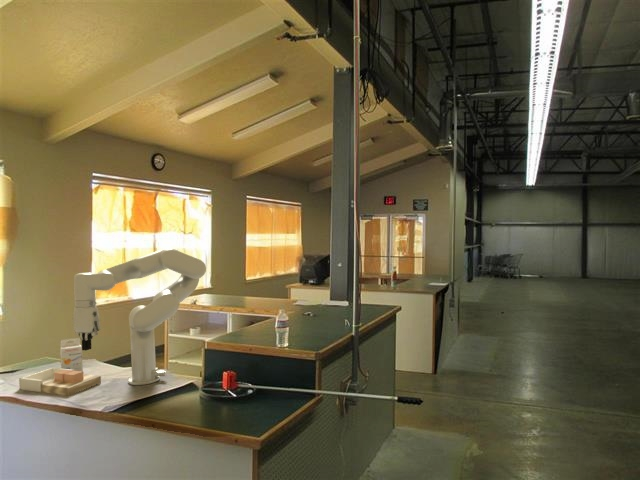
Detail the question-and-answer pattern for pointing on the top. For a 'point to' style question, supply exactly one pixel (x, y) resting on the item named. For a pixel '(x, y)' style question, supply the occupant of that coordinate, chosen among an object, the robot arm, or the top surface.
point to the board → (70, 385)
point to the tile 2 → (73, 376)
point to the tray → (38, 379)
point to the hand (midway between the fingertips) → (86, 349)
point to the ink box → (71, 354)
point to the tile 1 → (60, 375)
